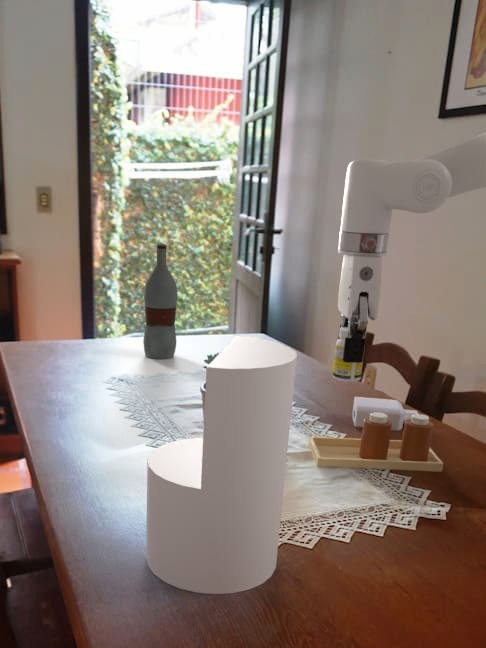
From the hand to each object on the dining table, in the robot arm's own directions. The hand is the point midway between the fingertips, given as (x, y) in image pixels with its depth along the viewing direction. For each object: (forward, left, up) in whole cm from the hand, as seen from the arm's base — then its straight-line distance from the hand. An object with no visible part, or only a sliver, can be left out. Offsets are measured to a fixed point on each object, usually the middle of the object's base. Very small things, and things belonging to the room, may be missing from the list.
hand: (349, 356), depth 115 cm
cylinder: (+23, +34, -20) cm, 46 cm away
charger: (-15, -24, -20) cm, 35 cm away
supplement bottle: (0, 0, -4) cm, 4 cm away
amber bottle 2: (-15, -4, -19) cm, 25 cm away
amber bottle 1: (-7, -4, -19) cm, 21 cm away
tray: (-7, -4, -20) cm, 22 cm away
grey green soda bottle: (+37, -77, -20) cm, 87 cm away
